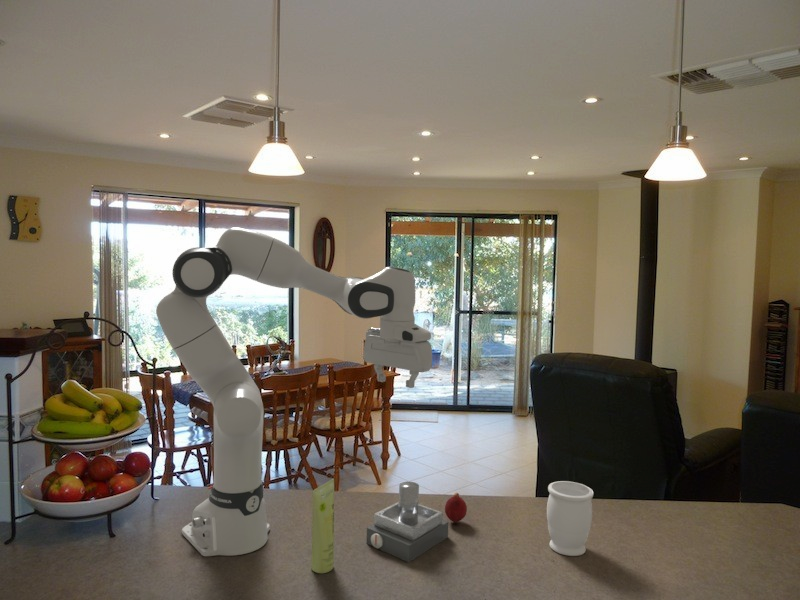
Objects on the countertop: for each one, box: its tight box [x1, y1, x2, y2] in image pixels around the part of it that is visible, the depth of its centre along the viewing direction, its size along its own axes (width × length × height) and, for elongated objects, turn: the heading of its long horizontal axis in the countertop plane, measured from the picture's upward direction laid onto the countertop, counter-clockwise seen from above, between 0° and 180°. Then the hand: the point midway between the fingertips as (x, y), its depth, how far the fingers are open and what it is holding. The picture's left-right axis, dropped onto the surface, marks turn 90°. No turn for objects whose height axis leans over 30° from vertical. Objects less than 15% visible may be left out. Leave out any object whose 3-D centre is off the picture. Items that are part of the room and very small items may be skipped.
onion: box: [444, 492, 468, 524], centre depth 154 cm, size 6×6×8 cm
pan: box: [373, 501, 444, 541], centre depth 144 cm, size 12×12×3 cm
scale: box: [366, 519, 449, 563], centre depth 144 cm, size 13×17×4 cm
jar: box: [546, 480, 594, 557], centre depth 142 cm, size 11×10×15 cm
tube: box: [310, 478, 335, 574], centre depth 129 cm, size 6×5×20 cm
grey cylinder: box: [398, 481, 420, 525], centre depth 144 cm, size 5×5×9 cm
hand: (395, 384), depth 150 cm, fingers open, 8 cm apart
